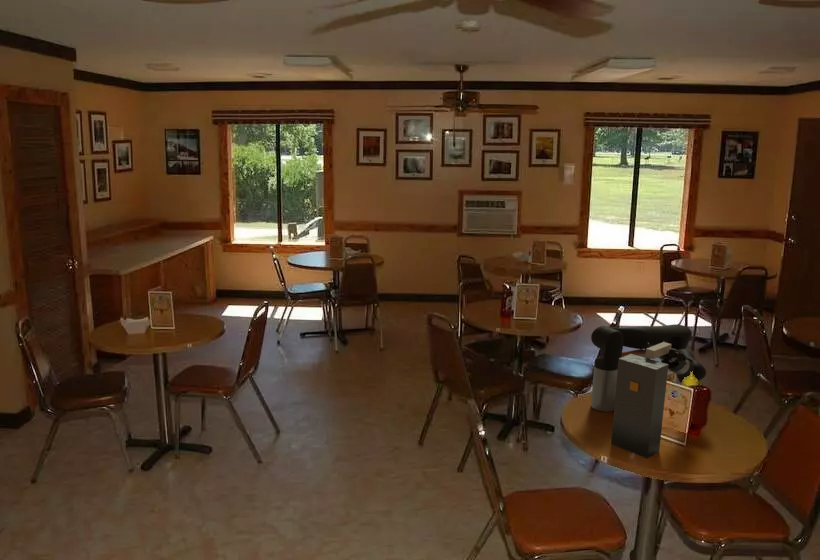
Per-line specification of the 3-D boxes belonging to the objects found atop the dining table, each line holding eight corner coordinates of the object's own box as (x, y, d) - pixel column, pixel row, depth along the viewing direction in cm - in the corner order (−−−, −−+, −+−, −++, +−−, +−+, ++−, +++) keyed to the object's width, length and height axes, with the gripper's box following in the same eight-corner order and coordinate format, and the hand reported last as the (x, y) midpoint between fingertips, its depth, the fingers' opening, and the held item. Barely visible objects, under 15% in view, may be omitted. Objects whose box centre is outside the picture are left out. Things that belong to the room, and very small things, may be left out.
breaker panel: (623, 437, 241) (630, 353, 234) (659, 451, 230) (668, 364, 223) (610, 444, 235) (617, 358, 228) (646, 459, 225) (655, 370, 218)
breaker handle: (662, 350, 237) (663, 342, 237) (670, 352, 235) (671, 344, 235) (645, 357, 230) (646, 348, 229) (653, 359, 227) (654, 350, 227)
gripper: (660, 347, 248) (643, 333, 237) (697, 357, 238) (681, 343, 227) (653, 366, 247) (636, 353, 236) (691, 376, 237) (674, 363, 226)
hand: (658, 348), depth 232 cm, fingers open, 8 cm apart
